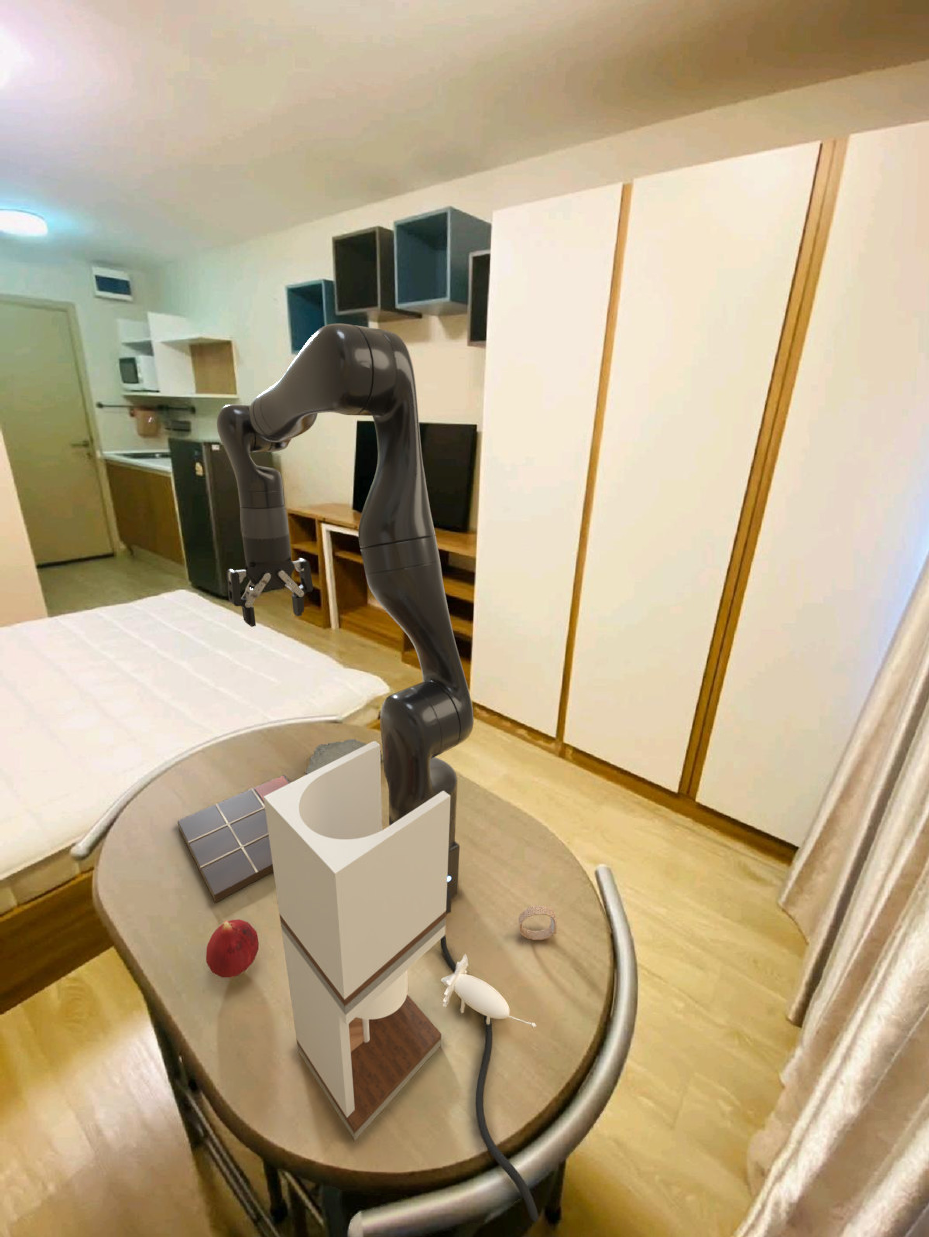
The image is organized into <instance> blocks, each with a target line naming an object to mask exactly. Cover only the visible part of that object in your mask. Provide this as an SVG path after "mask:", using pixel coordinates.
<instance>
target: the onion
mask: <svg viewBox="0 0 929 1237" xmlns="http://www.w3.org/2000/svg"><path fill="white" fill-rule="evenodd" d="M259 947H260V942H259V935H258V932H257V930H256V929H255V928H254V927H253V926H252V924H251V923H250V922H248V921H245V920H243V919H231V920H224V921H223V922H222V924H221V925H219V926H217V928H216V929H215V930H214V932H213V933H212V934H211V935H210V937H209V940H208V942H207V944H206V952H205V962H206V964H207V967H208V968H209V970H210V971H211V973H212V974H213V975H216V976H217V977H219V978H225V979H231V978H234V977H237V976H239V975H241V974H242V973H244V972H245V971H247V970H248V969H249V968H250V967H251V966H252V964H253V963H254V961H255V959H256V957H257V955H258V952H259Z"/></svg>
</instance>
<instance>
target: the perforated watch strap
mask: <svg viewBox="0 0 929 1237" xmlns="http://www.w3.org/2000/svg"><path fill="white" fill-rule="evenodd" d="M537 915H541V916H542V915H543V916H547V917H550V925H549V926H548V927H546V928H545V929H542V930H533V929H532V930H531V929H527V928H525V927H524V925H523V922H524V921H525V920H527V919H528V918H530V917H533V916H537ZM556 917H557V916H556V913H555V911H554V909H551V908H550V907H548V906H545V905H532V906H528V907H527V908H525V909H523V910H522V911H521V912H520V914H519V916H518V928H519V932H520V934H521V935H522V936H523V937H524V938H526V939H528V940H531V941H532V940H533V941H542V940H546V939H548V938H550V937H554V935H556V934H557V918H556Z"/></svg>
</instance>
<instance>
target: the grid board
mask: <svg viewBox="0 0 929 1237" xmlns="http://www.w3.org/2000/svg"><path fill="white" fill-rule="evenodd" d="M290 783H291V782H290V780H289V779H288V778H287V776H285V775H284V774H283V775H281V776H278V777H276V778H273V779H270V780H269V781H267V782H264V783H261V784H260V785H257V786H255V787H250V788H249V789H248V790H245V791H244V792H243V791H242V792H241V793H238V794H236V795H234V796H231V797H229V798H227V799H225V800H222V801H220V802H215V803H214V804H213V805H210V806H208V807H206V808H203V809H201V810H199V811H197V812H193V813H192V814H189V815H187V816H185V817H182V818H180V819H178V820H177V821H176V822H177V826H178V829H179V831H180V833H181V835H182V837H183V839H184V842H185V844H186V845H187V847H188V849H189V851H190V853H191V856H192V858H193V860H194V863H195V864H196V866H197V868H198V870H199V873H200V874H201V876H202V878H203V881H204V882H205V885H206V886H207V888H208V890H209V893H210V895H211V897H212V899H213V901H214V903H217V902H220V901H222V900H223V899H226V898H227V897H230V896H231V895H233V894H234V893H236V892H238V891H241V890H242V889H244V888H246V887H248V886H249V885H251V884H253V883H255V882H257V881H258V880H260V879H262V878H264V877H266V876H268V875H269V874H271V873H274V870H273V863H272V856H271V848H270V841H269V833H268V826H267V819H266V811H265V804H264V796H266V795H268V794H270V793H272V792H274V791H276V790H278V789H280V788H282V787H284V786H286V785H288V784H290Z"/></svg>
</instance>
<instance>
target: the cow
mask: <svg viewBox="0 0 929 1237" xmlns="http://www.w3.org/2000/svg"><path fill="white" fill-rule="evenodd" d="M468 961H469V958H468V955H467V954H466V953H464V954H463V956H462V959H461V961H457V963H456V970H455V973H454V972H453V973H451V974H449V975H446V976H444V977H443V978H441V980H440V983H441V984H442V985H444V986H445V987H446V989H445V991H444V993H443V995H444V998H443V1000H442V1002H444V1003H443V1004H442V1006H443V1007H445V1008H446V1007H447V1006H448V1004H449V1003H450V1000H451V996H452V994H453V993H454V992H455V993H456V995H457V997H458V998H460V999H461V1002H460V1009H459V1011H460V1013H461V1014H464V1013H465V1004H466V1005H467V1006H468V1007H470V1008H471V1009H473V1010H474V1011H476V1012H477V1013H479V1014H481V1015H482V1014H483V1015H485V1016H487V1020H486V1024H487V1025H489V1024H490V1019H496V1020H504V1019H506V1018H508V1019H511V1020H514V1021H518V1022H519V1023H523V1024H526V1025H529V1026H531V1028H536V1027H537V1024H536V1023H535V1022H529V1021H527V1020H523V1019H521V1018H517V1017H515V1016H512V1015H510V1013H511V1012H510V1011H511V1010H510V1006H509V1004H508V1002H507V1001H506V999H505V998H504V997H503V995H502V993H500V992H499V991H498V990H497V989H495V988H494V987H493V985H490V984H489V983H487V982H486V981H485V980H482V979H480V978H479V977H476V976H474V975H472V974H471V975H470V974H467V973H468V970H467V968H468V966H469V965H470V964H469V962H468ZM483 1015H482V1016H483Z"/></svg>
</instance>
